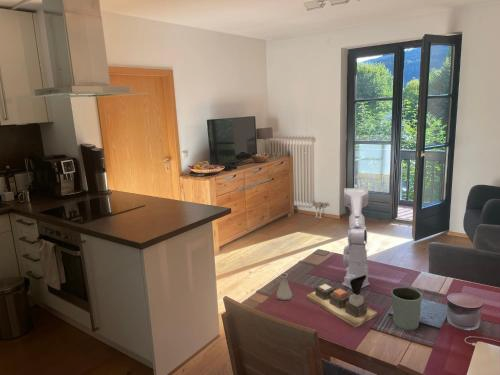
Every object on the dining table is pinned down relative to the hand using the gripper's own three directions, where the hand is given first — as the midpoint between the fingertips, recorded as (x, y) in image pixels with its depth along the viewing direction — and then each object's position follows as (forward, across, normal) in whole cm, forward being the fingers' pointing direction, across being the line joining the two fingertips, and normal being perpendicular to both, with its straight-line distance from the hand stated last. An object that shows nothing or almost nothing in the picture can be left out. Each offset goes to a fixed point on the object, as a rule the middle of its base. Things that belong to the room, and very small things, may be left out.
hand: (356, 293), depth 138 cm
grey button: (+4, 0, 0) cm, 4 cm away
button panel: (+9, -2, -8) cm, 12 cm away
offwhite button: (+7, -3, -16) cm, 17 cm away
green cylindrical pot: (+9, -7, +16) cm, 20 cm away
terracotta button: (+6, -2, -8) cm, 10 cm away
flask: (+9, +6, -30) cm, 32 cm away
